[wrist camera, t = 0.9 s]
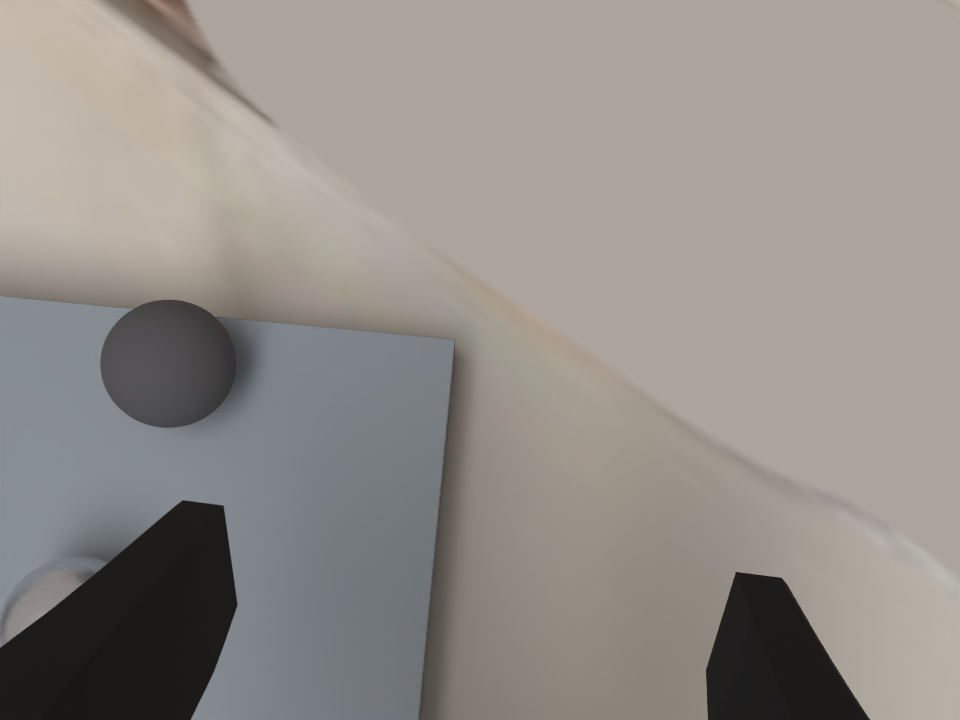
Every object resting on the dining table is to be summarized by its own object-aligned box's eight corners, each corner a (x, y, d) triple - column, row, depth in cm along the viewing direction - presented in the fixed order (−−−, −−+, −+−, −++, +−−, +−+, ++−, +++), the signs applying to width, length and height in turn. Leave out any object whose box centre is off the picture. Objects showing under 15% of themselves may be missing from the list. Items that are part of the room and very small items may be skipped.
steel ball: (153, 680, 22) (101, 719, 19) (28, 669, 22) (-44, 706, 19) (169, 555, 22) (121, 572, 19) (47, 544, 22) (-21, 559, 19)
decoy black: (242, 434, 23) (207, 432, 20) (122, 423, 23) (67, 418, 19) (256, 317, 23) (224, 295, 20) (138, 305, 23) (87, 282, 20)
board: (400, 913, 24) (389, 997, 20) (-393, 846, 24) (-550, 919, 20) (454, 350, 26) (454, 333, 22) (-282, 280, 25) (-408, 251, 22)
